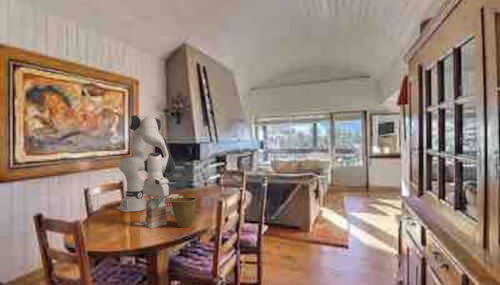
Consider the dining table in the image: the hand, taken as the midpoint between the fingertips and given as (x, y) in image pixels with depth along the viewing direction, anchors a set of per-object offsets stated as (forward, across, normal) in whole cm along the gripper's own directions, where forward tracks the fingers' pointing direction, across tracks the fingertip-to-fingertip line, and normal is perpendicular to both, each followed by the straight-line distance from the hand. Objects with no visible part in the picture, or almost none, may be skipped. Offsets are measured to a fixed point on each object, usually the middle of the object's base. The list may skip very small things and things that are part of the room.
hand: (155, 202), depth 193 cm
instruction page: (+14, -11, -1) cm, 17 cm away
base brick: (+14, 0, 0) cm, 14 cm away
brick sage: (+3, 0, 0) cm, 3 cm away
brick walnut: (+8, 0, 0) cm, 8 cm away
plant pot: (+14, +15, +8) cm, 22 cm away
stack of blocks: (+14, -18, +30) cm, 38 cm away
